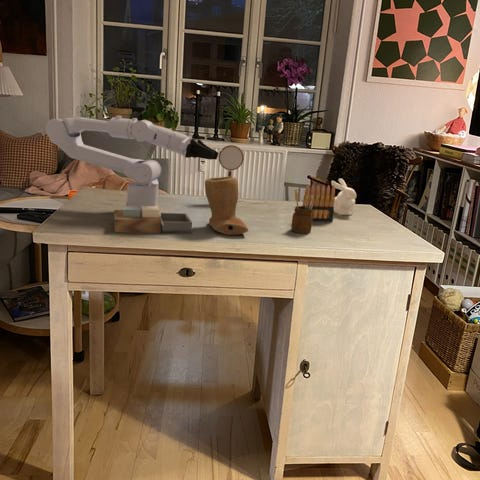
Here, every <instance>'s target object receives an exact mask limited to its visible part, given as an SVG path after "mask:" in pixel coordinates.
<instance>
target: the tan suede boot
mask: <svg viewBox="0 0 480 480" xmlns="http://www.w3.org/2000/svg"><path fill="white" fill-rule="evenodd" d="M204 190H205V191H204V192H205V196H206V199H207V202H208V206H209V209H210V213H211V217H210V218H209V219H208V222H209V225H210V226H211V227H212V229H213V231H216V232H219V233H222V234H224V235H228V236H234V235H236V236H237V235H241V234H246V233H247V232H248V231H249V227H248V226H247V225H246V224H245V222H244V221H243V220H242V219H241V218H240V217H237V216H236V211H237V204H238V201H239V182H238V179H237V178H236V177H233V176H231V177H228V176H219V177H210V178H206V179H205V181H204Z"/></svg>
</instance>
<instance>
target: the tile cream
mask: <svg viewBox="0 0 480 480" xmlns="http://www.w3.org/2000/svg"><path fill="white" fill-rule="evenodd" d="M159 213H160V208H159V205H158V206H141V215H142V217H158V218H159Z"/></svg>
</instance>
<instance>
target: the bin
mask: <svg viewBox="0 0 480 480" xmlns="http://www.w3.org/2000/svg"><path fill="white" fill-rule="evenodd" d="M160 218H161V233H162V234H192V230H193V221H192V220H191V218H190V217H189V215H188V213H187V212H181V213H180V212H179V213H178V212H161V213H160Z"/></svg>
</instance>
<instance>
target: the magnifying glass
mask: <svg viewBox="0 0 480 480" xmlns="http://www.w3.org/2000/svg"><path fill="white" fill-rule="evenodd" d="M244 158H245V157H244V153H243V151H242V149H241V148H240V147H239V146H236V145H233V144H231V145H229V144H228V145H226V146H223V148H222V149H221V150H220V151H219V154H218V161H219V164H220V165H221V167H222V168H223V169H225V170H228V172H227V177H232V173H233V172H232V171H235V170H238V168H240V167H241V166H242V164H243V162H244Z"/></svg>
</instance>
